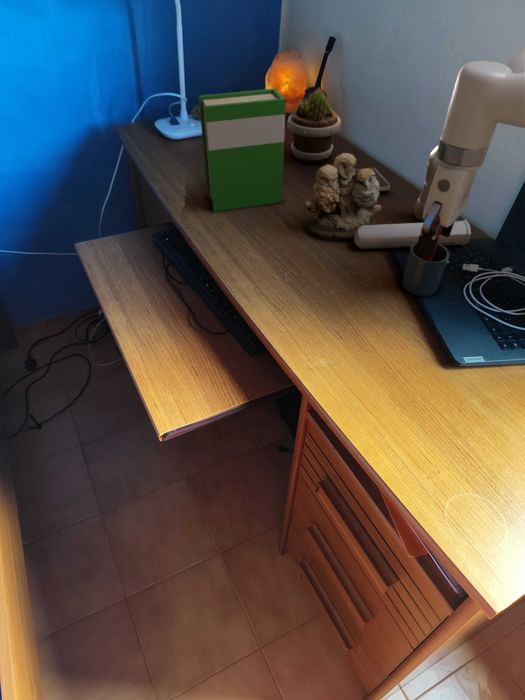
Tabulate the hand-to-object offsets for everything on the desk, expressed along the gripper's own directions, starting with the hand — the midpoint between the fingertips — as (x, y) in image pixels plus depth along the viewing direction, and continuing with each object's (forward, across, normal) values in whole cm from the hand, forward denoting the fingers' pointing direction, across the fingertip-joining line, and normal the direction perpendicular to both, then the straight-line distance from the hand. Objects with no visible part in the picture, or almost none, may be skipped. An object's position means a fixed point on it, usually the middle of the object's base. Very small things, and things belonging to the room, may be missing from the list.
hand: (432, 243), depth 88 cm
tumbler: (+10, 0, 0) cm, 10 cm away
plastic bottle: (+10, +25, +9) cm, 28 cm away
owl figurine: (+10, +9, +24) cm, 28 cm away
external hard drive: (+10, +32, +28) cm, 44 cm away
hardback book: (+10, +6, +50) cm, 51 cm away
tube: (+10, +12, +8) cm, 18 cm away
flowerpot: (+10, +38, +50) cm, 64 cm away
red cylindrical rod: (+9, 0, 0) cm, 9 cm away
